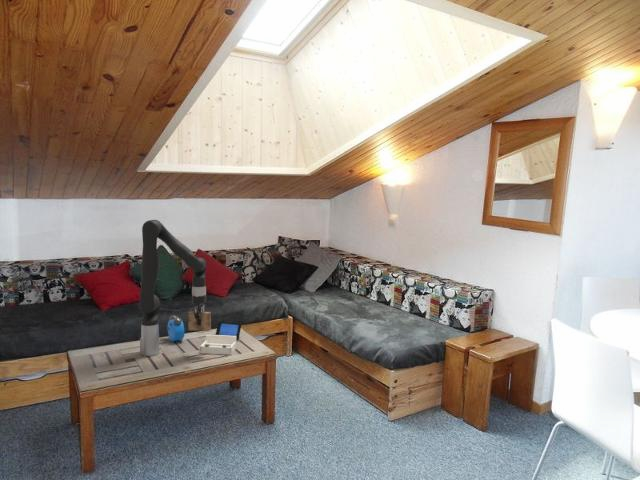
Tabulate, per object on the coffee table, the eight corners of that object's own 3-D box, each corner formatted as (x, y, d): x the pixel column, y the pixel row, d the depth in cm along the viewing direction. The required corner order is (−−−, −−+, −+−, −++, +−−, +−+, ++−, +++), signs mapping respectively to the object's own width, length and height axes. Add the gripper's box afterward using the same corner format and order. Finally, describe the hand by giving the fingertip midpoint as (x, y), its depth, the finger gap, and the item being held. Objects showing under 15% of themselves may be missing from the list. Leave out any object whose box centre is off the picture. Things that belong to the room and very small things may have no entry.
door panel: (188, 330, 266) (188, 312, 265) (190, 328, 269) (189, 311, 268) (209, 330, 265) (209, 313, 264) (211, 329, 268) (210, 312, 267)
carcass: (199, 353, 270) (199, 341, 270) (206, 346, 282) (206, 334, 282) (231, 354, 269) (231, 342, 268) (236, 347, 281) (236, 335, 281)
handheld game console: (209, 342, 290) (209, 327, 289) (218, 335, 303) (218, 321, 302) (233, 344, 287) (233, 329, 286) (241, 337, 300) (241, 323, 299)
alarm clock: (184, 342, 287) (184, 318, 286) (174, 344, 284) (174, 320, 282) (177, 336, 298) (176, 313, 296) (167, 338, 294) (166, 314, 292)
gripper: (196, 291, 272) (197, 320, 274) (188, 296, 258) (188, 327, 260) (209, 291, 271) (210, 321, 273) (201, 297, 257) (202, 328, 259)
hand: (199, 324), depth 267 cm, fingers closed on door panel, 2 cm apart
